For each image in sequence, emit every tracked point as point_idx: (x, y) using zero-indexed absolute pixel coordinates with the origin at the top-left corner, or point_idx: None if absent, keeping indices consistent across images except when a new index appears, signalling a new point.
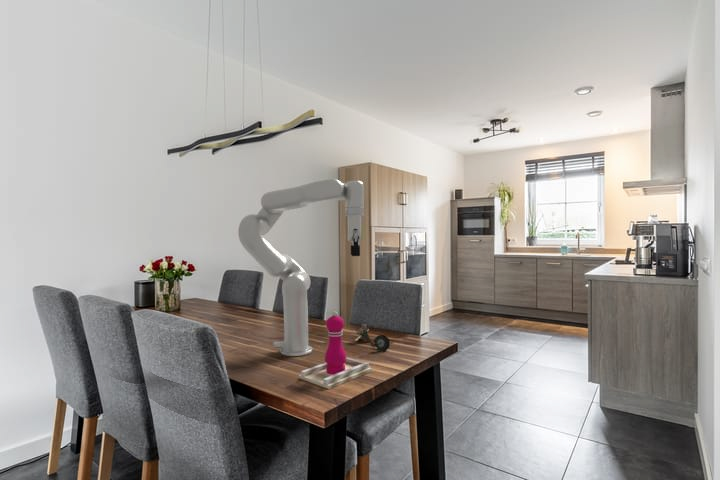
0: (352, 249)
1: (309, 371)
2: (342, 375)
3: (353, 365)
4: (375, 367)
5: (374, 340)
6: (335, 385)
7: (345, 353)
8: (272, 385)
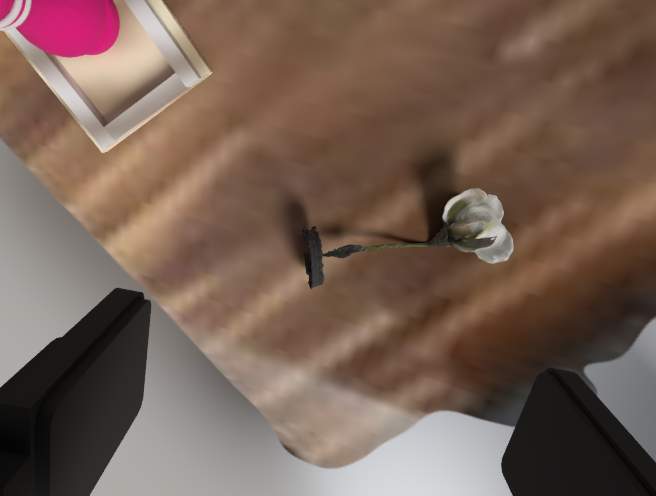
0: (53, 362)
1: None
2: None
3: (139, 98)
4: (140, 174)
5: (310, 234)
6: None
7: (42, 49)
8: None
